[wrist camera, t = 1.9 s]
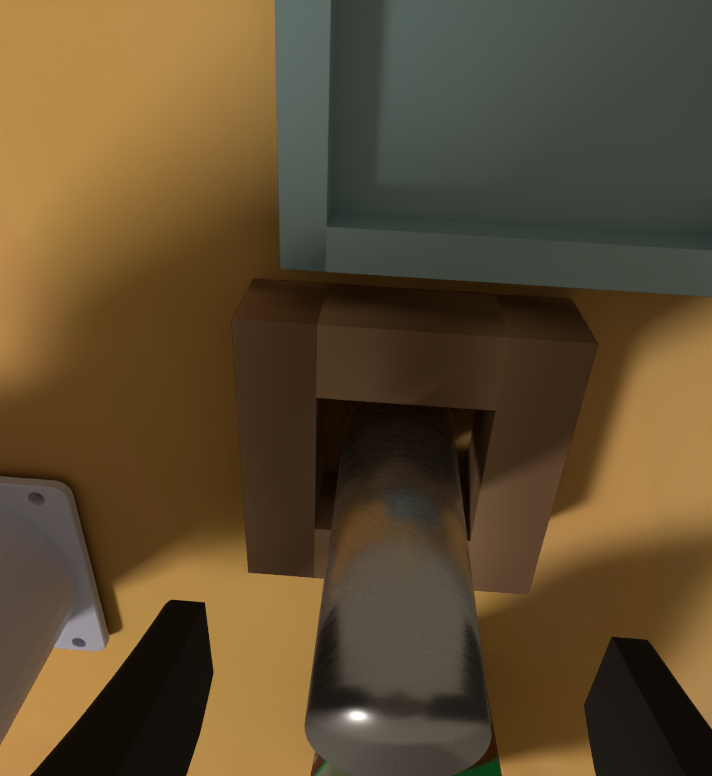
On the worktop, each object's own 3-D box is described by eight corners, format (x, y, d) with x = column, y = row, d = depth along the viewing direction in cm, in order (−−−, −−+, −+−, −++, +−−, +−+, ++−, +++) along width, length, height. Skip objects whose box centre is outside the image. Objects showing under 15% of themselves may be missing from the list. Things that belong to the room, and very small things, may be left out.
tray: (292, 242, 15) (279, 268, 14) (288, -199, 11) (269, -232, 9) (750, 271, 15) (790, 302, 13) (925, -171, 11) (1013, -202, 9)
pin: (344, 458, 18) (304, 774, 11) (348, 370, 17) (305, 668, 9) (445, 465, 18) (476, 790, 11) (458, 378, 17) (506, 685, 9)
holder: (263, 514, 20) (248, 572, 18) (253, 278, 16) (231, 319, 14) (514, 533, 20) (528, 594, 18) (571, 299, 15) (597, 343, 13)
